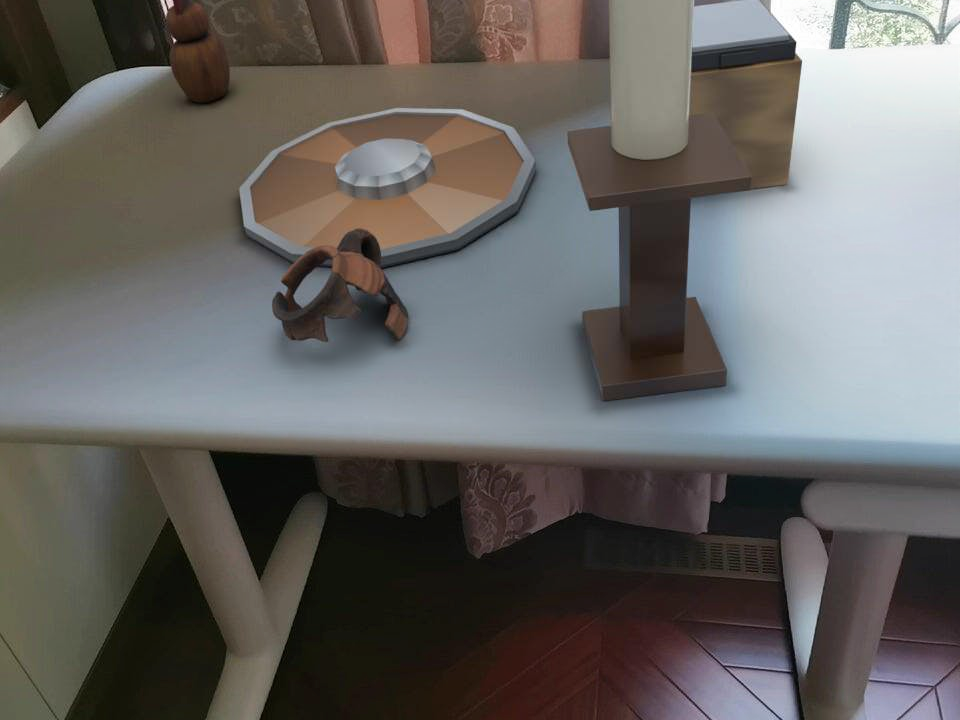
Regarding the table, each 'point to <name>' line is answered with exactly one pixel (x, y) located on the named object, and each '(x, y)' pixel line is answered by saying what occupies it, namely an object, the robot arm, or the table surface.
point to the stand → (654, 260)
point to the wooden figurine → (196, 53)
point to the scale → (738, 36)
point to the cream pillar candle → (650, 76)
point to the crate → (753, 113)
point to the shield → (389, 184)
